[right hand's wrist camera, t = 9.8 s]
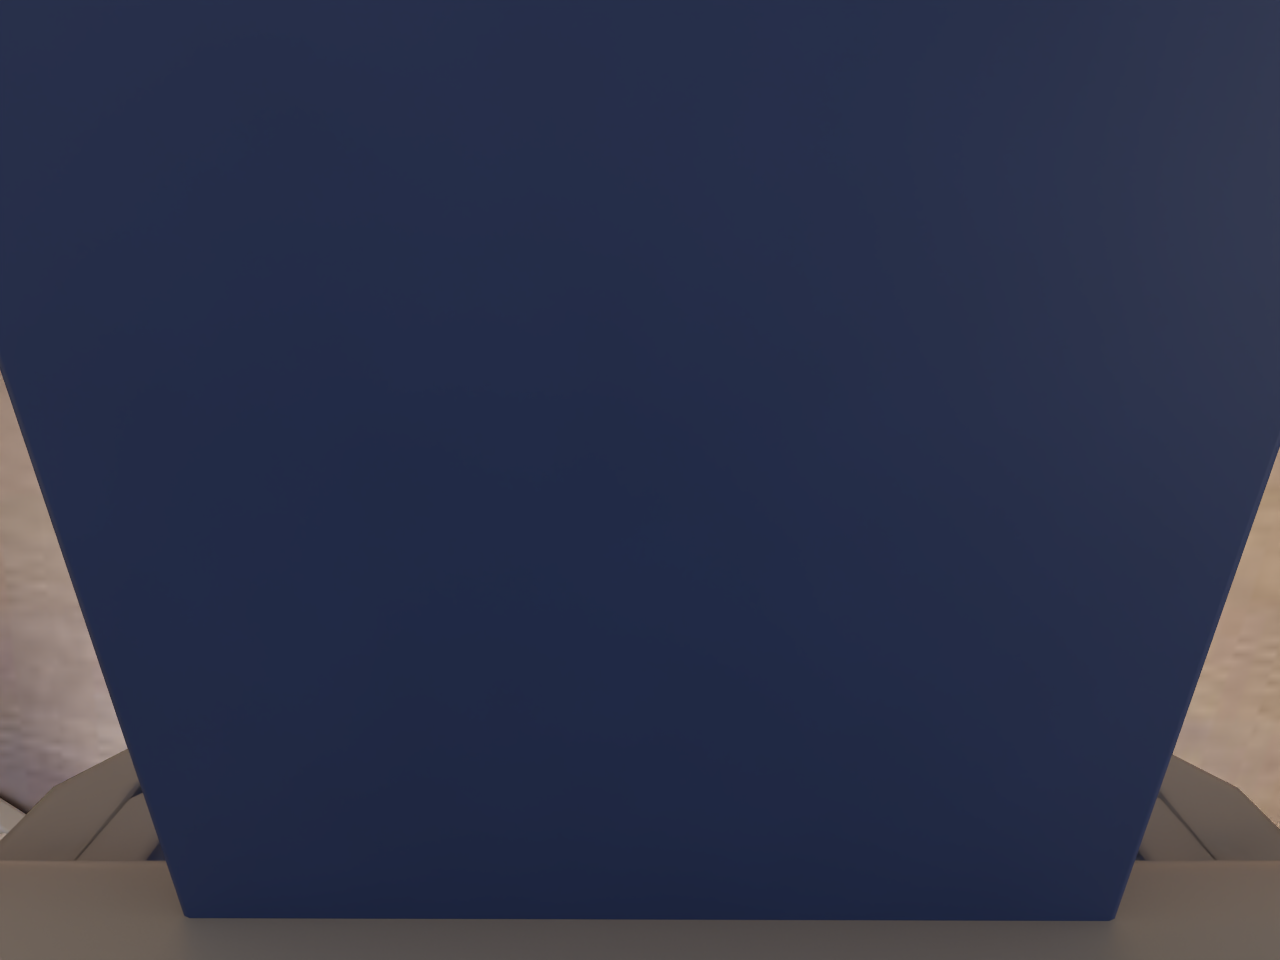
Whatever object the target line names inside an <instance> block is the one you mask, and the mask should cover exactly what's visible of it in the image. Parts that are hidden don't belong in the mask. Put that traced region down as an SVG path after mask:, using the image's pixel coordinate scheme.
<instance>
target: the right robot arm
mask: <svg viewBox="0 0 1280 960" xmlns="http://www.w3.org/2000/svg"><path fill="white" fill-rule="evenodd" d="M0 960H1280V829H1279V828H1278V827H1277V826H1276V825H1275V824H1274V823H1273V822H1272V821H1271V820H1270V819H1269V818H1268V817H1267V816H1266V815H1265V814H1264V813H1263V812H1262V811H1261V810H1260V809H1259V808H1258V807H1257V806H1256V805H1255V804H1253V803H1252V802H1251V801H1250V800H1249V799H1248V798H1247V797H1246V796H1245V795H1244V794H1243V793H1242V792H1241V791H1240V790H1239V789H1238V788H1237V787H1235V786H1233V785H1231V784H1229V783H1227V782H1225V781H1223V780H1221V779H1219V778H1217V777H1215V776H1213V775H1211V774H1209V773H1207V772H1205V771H1204V770H1202V769H1200V768H1198V767H1196V766H1194V765H1192V764H1190V763H1188V762H1186V761H1184V760H1182V759H1180V758H1178V757H1176V756H1174V755H1172V756H1171V759H1170V762H1169V765H1168V768H1167V770H1166V773H1165V776H1164V779H1163V782H1162V785H1161V788H1160V790H1159V793H1158V796H1157V799H1156V802H1155V805H1154V808H1153V810H1152V813H1151V816H1150V819H1149V822H1148V825H1147V828H1146V830H1145V833H1144V836H1143V839H1142V842H1141V845H1140V848H1139V850H1138V853H1137V856H1136V859H1135V862H1134V865H1133V868H1132V871H1131V873H1130V876H1129V879H1128V882H1127V885H1126V888H1125V891H1124V893H1123V896H1122V899H1121V902H1120V905H1119V908H1118V911H1117V913H1116V916H1115V919H1113V920H1111V921H933V920H613V919H293V918H188V917H186V916H184V914H183V911H182V908H181V905H180V902H179V899H178V896H177V893H176V890H175V887H174V884H173V881H172V878H171V875H170V872H169V869H168V866H167V863H166V860H165V857H164V854H163V851H162V848H161V845H160V843H159V840H158V837H157V834H156V831H155V828H154V825H153V822H152V819H151V816H150V813H149V810H148V807H147V804H146V801H145V798H144V795H143V792H142V789H141V786H140V783H139V780H138V777H137V774H136V771H135V768H134V765H133V762H132V759H131V756H130V753H129V750H128V749H126V750H125V751H123V752H121V753H119V754H117V755H115V756H113V757H111V758H109V759H107V760H105V761H103V762H101V763H99V764H97V765H95V766H93V767H91V768H89V769H88V770H86V771H84V772H82V773H80V774H78V775H76V776H74V777H72V778H70V779H68V780H66V781H64V782H62V783H60V784H58V785H56V786H54V787H53V788H52V789H51V790H50V791H49V792H48V793H47V794H46V795H45V796H44V797H43V798H42V799H41V800H40V801H39V802H38V803H37V804H36V805H35V806H34V807H33V808H32V809H31V810H30V811H29V812H28V813H27V814H25V813H23V812H22V811H20V810H19V809H17V808H15V807H14V806H12V805H11V804H9V803H7V802H6V801H4V800H2V799H1V798H0Z"/></svg>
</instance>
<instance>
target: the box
mask: <svg viewBox="0 0 1280 960" xmlns="http://www.w3.org/2000/svg"><path fill="white" fill-rule="evenodd" d="M0 370H1V373H2V376H3V379H4V382H5V385H6V388H7V391H8V394H9V397H10V400H11V403H12V406H13V409H14V412H15V415H16V418H17V421H18V424H19V426H20V429H21V432H22V435H23V438H24V441H25V444H26V447H27V450H28V453H29V456H30V459H31V462H32V465H33V468H34V471H35V474H36V477H37V480H38V483H39V486H40V489H41V492H42V495H43V498H44V501H45V504H46V507H47V510H48V513H49V516H50V519H51V522H52V525H53V528H54V530H55V533H56V536H57V539H58V542H59V545H60V548H61V551H62V554H63V557H64V560H65V563H66V566H67V569H68V572H69V575H70V578H71V581H72V584H73V587H74V590H75V593H76V596H77V599H78V602H79V605H80V608H81V611H82V614H83V617H84V620H85V623H86V626H87V629H88V632H89V634H90V637H91V640H92V643H93V646H94V649H95V652H96V655H97V658H98V661H99V664H100V667H101V670H102V673H103V676H104V679H105V682H106V685H107V688H108V691H109V694H110V697H111V700H112V703H113V706H114V709H115V712H116V715H117V718H118V721H119V724H120V727H121V730H122V733H123V736H124V738H125V741H126V744H127V747H128V750H129V753H130V756H131V759H132V762H133V765H134V768H135V771H136V774H137V777H138V780H139V783H140V786H141V789H142V792H143V795H144V798H145V801H146V804H147V807H148V810H149V813H150V816H151V819H152V822H153V825H154V828H155V831H156V834H157V837H158V840H159V843H160V845H161V848H162V851H163V854H164V857H165V860H166V863H167V866H168V869H169V872H170V875H171V878H172V881H173V884H174V887H175V890H176V893H177V896H178V899H179V902H180V905H181V908H182V911H183V914H184V916H186V917H188V918H293V919H613V920H933V921H1111V920H1113V919H1115V916H1116V913H1117V911H1118V908H1119V905H1120V902H1121V899H1122V896H1123V893H1124V891H1125V888H1126V885H1127V882H1128V879H1129V876H1130V873H1131V871H1132V868H1133V865H1134V862H1135V859H1136V856H1137V853H1138V850H1139V848H1140V845H1141V842H1142V839H1143V836H1144V833H1145V830H1146V828H1147V825H1148V822H1149V819H1150V816H1151V813H1152V810H1153V808H1154V805H1155V802H1156V799H1157V796H1158V793H1159V790H1160V788H1161V785H1162V782H1163V779H1164V776H1165V773H1166V770H1167V768H1168V765H1169V762H1170V759H1171V756H1172V753H1173V750H1174V748H1175V745H1176V742H1177V739H1178V736H1179V733H1180V730H1181V727H1182V725H1183V722H1184V719H1185V716H1186V713H1187V710H1188V707H1189V705H1190V702H1191V699H1192V696H1193V693H1194V690H1195V687H1196V685H1197V682H1198V679H1199V676H1200V673H1201V670H1202V667H1203V665H1204V662H1205V659H1206V656H1207V653H1208V650H1209V647H1210V645H1211V642H1212V639H1213V636H1214V633H1215V630H1216V627H1217V624H1218V622H1219V619H1220V616H1221V613H1222V610H1223V607H1224V604H1225V602H1226V599H1227V596H1228V593H1229V590H1230V587H1231V584H1232V582H1233V579H1234V576H1235V573H1236V570H1237V567H1238V564H1239V562H1240V559H1241V556H1242V553H1243V550H1244V547H1245V544H1246V542H1247V539H1248V536H1249V533H1250V530H1251V527H1252V524H1253V521H1254V519H1255V516H1256V513H1257V510H1258V507H1259V504H1260V501H1261V499H1262V496H1263V493H1264V490H1265V487H1266V484H1267V481H1268V479H1269V476H1270V473H1271V470H1272V467H1273V464H1274V461H1275V459H1276V456H1277V453H1278V450H1279V447H1280V0H0Z"/></svg>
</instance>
